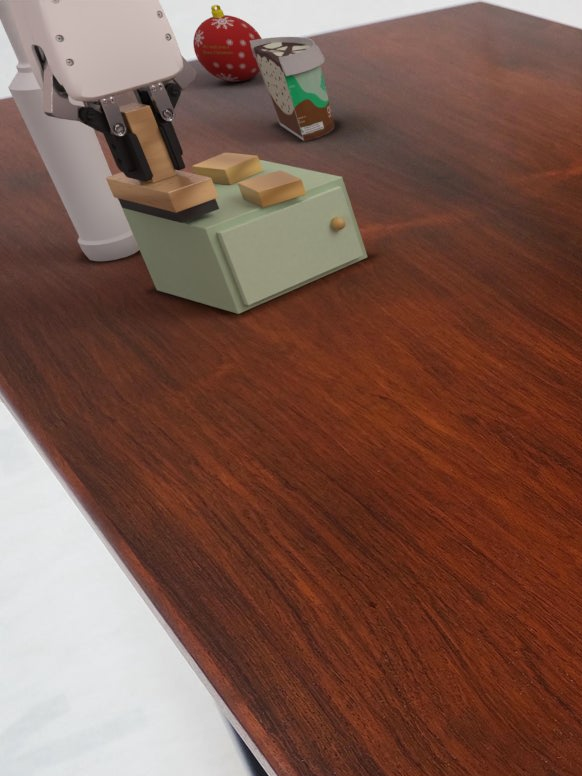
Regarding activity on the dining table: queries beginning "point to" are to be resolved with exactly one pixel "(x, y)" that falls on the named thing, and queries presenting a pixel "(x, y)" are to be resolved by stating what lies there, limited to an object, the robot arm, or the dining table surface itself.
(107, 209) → the bottle
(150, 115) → the brush
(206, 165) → the cork chip
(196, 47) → the christmas ornament
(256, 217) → the cabinet
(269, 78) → the food container
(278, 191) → the cork chip
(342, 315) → the dining table surface
